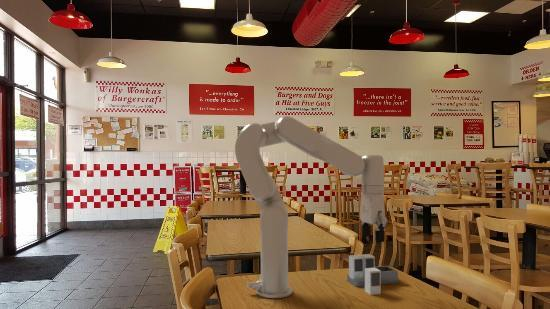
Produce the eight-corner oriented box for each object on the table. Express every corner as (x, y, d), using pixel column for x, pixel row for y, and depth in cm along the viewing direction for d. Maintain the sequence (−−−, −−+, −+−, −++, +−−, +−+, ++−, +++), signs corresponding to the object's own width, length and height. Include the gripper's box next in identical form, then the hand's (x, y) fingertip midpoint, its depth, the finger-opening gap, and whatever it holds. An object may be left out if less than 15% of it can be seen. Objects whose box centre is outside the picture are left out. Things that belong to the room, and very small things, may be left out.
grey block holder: (356, 286, 147) (355, 259, 147) (346, 280, 155) (346, 254, 155) (398, 283, 151) (398, 256, 151) (387, 277, 159) (387, 251, 159)
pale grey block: (370, 295, 138) (370, 271, 138) (364, 291, 142) (364, 268, 142) (381, 294, 139) (381, 270, 139) (375, 290, 143) (375, 267, 143)
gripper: (352, 188, 149) (352, 235, 149) (374, 192, 132) (375, 245, 132) (370, 188, 151) (370, 234, 151) (395, 192, 134) (395, 243, 134)
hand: (372, 239), depth 141 cm, fingers open, 9 cm apart
